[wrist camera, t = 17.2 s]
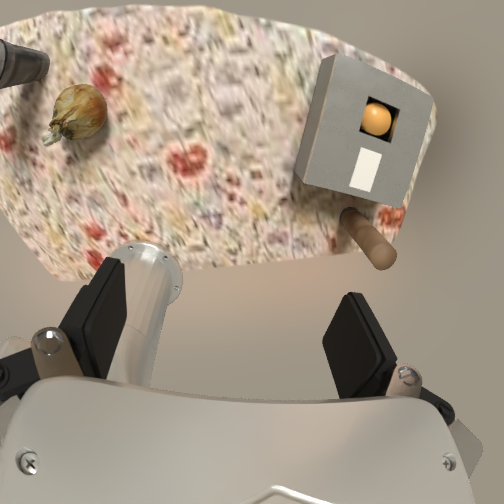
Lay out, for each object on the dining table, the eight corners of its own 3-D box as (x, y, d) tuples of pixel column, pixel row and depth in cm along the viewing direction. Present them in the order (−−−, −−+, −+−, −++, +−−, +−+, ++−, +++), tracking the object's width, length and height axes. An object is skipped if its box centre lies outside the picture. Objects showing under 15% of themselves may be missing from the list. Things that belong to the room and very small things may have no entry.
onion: (113, 138, 33) (87, 149, 26) (65, 137, 32) (34, 149, 25) (119, 83, 30) (92, 81, 23) (69, 86, 28) (37, 87, 21)
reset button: (372, 134, 34) (386, 139, 31) (346, 125, 33) (358, 129, 30) (379, 108, 32) (394, 110, 29) (353, 97, 32) (367, 98, 28)
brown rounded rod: (346, 230, 42) (379, 274, 32) (336, 215, 41) (368, 257, 31) (362, 218, 42) (400, 259, 31) (353, 203, 40) (390, 241, 30)
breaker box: (380, 193, 40) (400, 209, 34) (293, 170, 37) (304, 183, 32) (409, 95, 32) (434, 98, 27) (322, 59, 30) (338, 53, 25)
